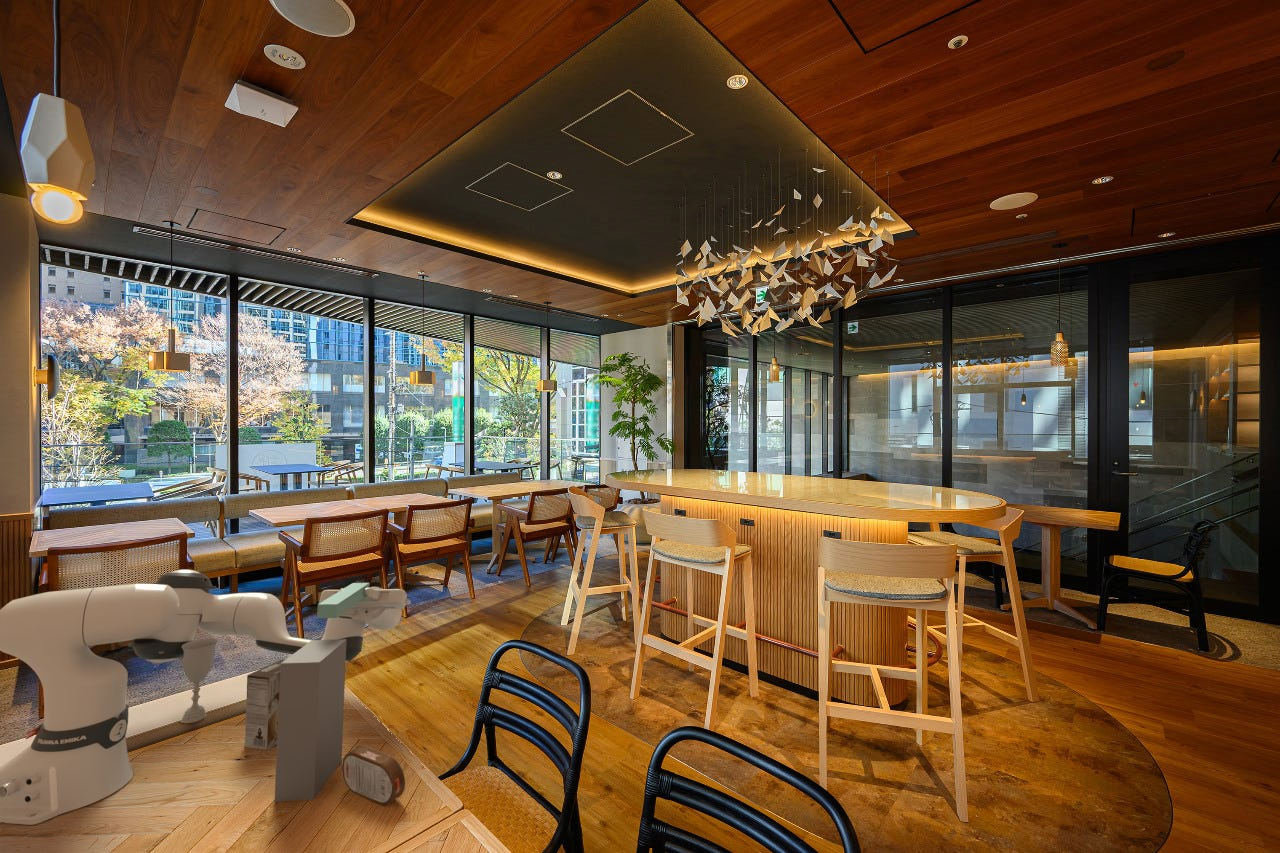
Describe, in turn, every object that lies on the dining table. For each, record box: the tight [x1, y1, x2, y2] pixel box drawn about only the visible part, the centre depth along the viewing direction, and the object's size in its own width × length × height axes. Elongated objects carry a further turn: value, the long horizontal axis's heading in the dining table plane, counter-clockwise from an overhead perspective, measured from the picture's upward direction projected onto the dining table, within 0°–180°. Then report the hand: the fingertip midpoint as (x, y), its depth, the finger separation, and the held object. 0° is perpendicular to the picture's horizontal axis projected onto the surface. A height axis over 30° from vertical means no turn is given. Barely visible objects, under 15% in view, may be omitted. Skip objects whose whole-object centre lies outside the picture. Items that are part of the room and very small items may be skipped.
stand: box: [273, 639, 347, 803], centre depth 106 cm, size 7×12×26 cm, turn 7°
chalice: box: [180, 637, 219, 724], centre depth 129 cm, size 7×7×18 cm
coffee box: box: [244, 659, 286, 751], centre depth 120 cm, size 9×6×16 cm
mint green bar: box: [316, 582, 370, 619], centre depth 123 cm, size 4×18×3 cm, turn 7°
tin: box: [342, 744, 406, 806], centre depth 101 cm, size 15×3×8 cm, turn 65°
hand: (354, 591), depth 128 cm, fingers closed on mint green bar, 4 cm apart
